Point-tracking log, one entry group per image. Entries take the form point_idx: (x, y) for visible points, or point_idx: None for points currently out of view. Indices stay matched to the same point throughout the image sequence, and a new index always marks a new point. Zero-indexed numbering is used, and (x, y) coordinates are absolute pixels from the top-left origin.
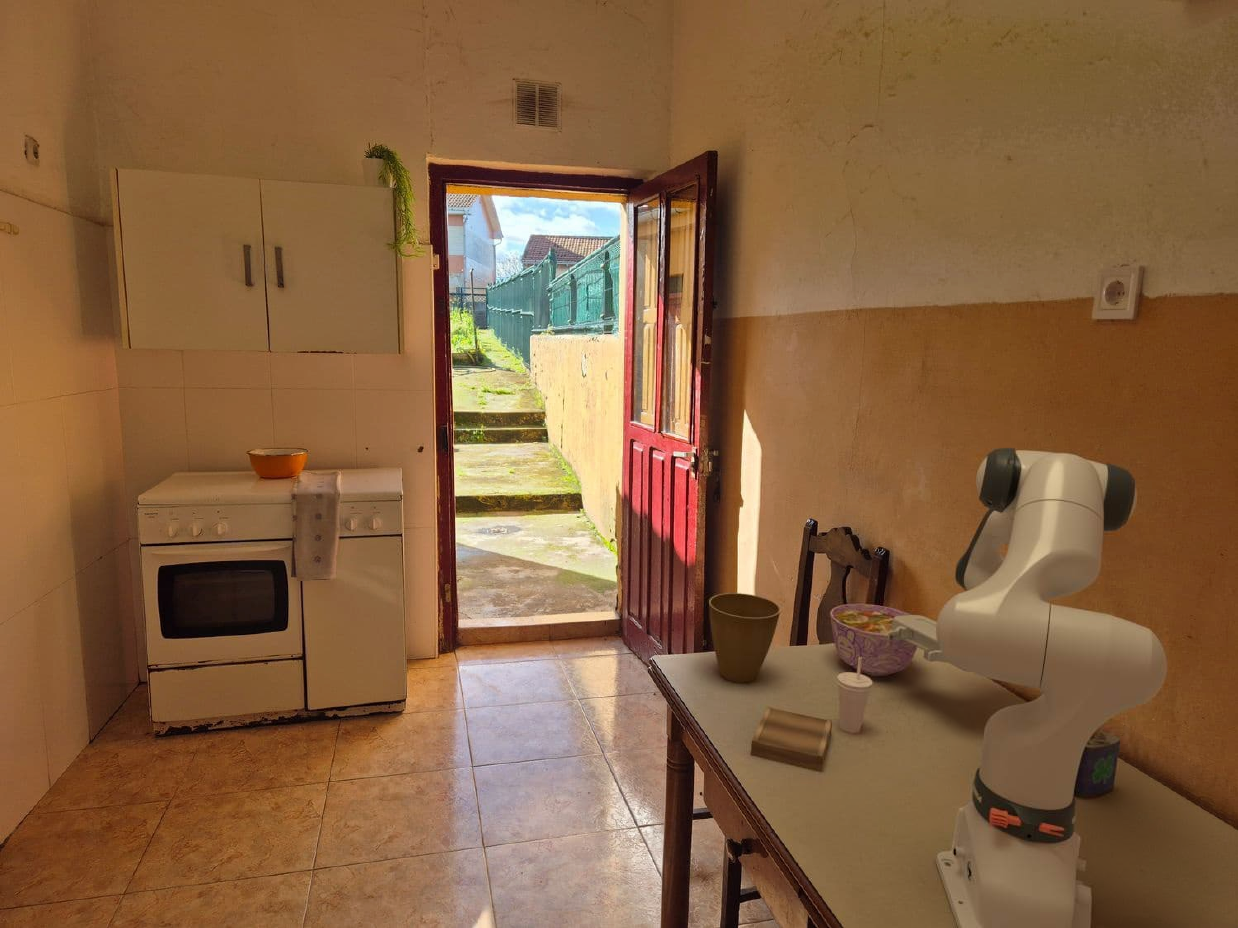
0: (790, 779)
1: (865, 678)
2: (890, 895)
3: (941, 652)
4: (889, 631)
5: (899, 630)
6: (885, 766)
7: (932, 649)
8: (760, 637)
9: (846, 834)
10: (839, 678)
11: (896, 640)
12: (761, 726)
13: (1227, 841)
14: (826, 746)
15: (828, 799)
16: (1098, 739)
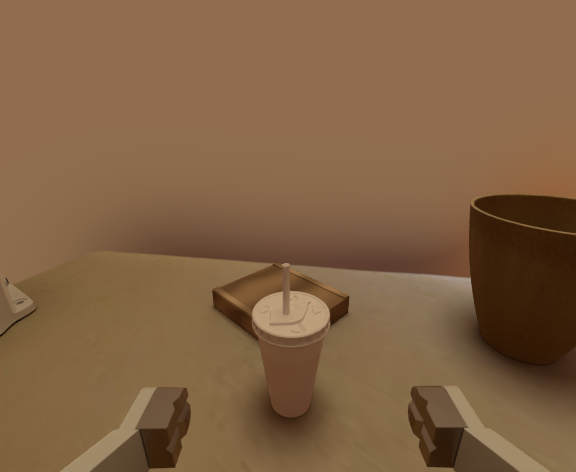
0: (221, 283)
1: (287, 330)
2: (69, 271)
3: (92, 450)
4: (456, 387)
5: (505, 469)
6: (164, 372)
7: (156, 426)
8: (478, 253)
9: (131, 280)
10: (304, 294)
11: (419, 437)
12: (299, 275)
13: None
14: (237, 313)
15: (174, 290)
16: None
